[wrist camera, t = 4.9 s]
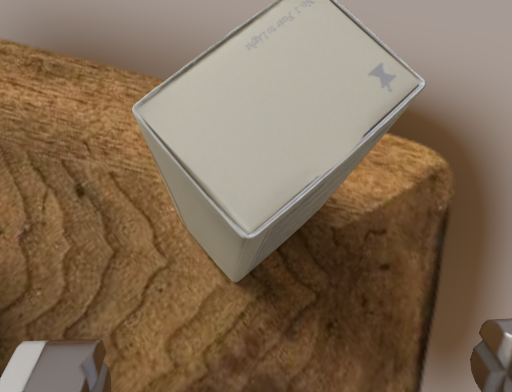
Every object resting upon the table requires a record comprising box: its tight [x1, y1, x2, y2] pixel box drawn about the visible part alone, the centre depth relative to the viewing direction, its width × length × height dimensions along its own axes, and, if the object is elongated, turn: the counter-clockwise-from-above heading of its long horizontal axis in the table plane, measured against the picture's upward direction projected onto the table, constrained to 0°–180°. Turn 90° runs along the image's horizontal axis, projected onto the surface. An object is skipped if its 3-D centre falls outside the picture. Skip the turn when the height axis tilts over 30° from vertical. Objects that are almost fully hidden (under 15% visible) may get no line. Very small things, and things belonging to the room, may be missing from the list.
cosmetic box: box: [132, 0, 426, 282], centre depth 16 cm, size 6×4×12 cm
